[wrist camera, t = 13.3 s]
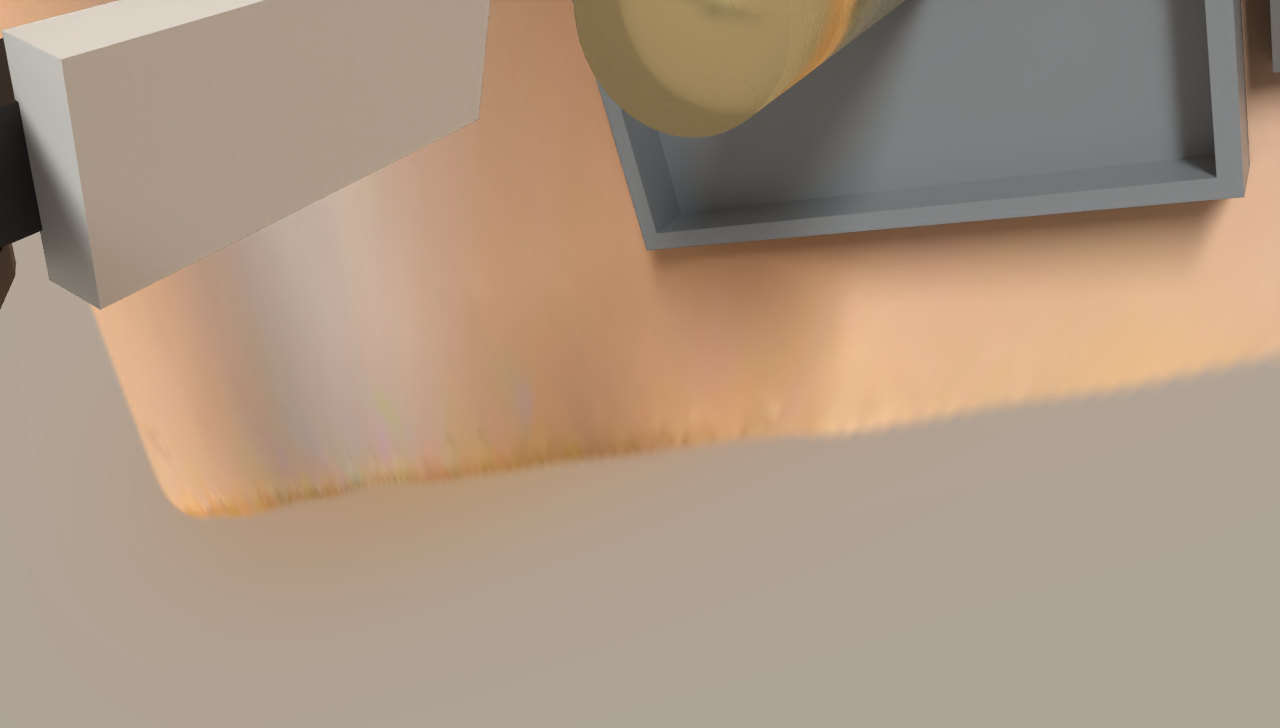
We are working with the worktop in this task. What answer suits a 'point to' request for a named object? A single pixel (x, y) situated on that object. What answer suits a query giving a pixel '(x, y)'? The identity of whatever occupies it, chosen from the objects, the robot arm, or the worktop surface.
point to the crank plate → (1275, 33)
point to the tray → (965, 125)
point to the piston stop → (712, 54)
